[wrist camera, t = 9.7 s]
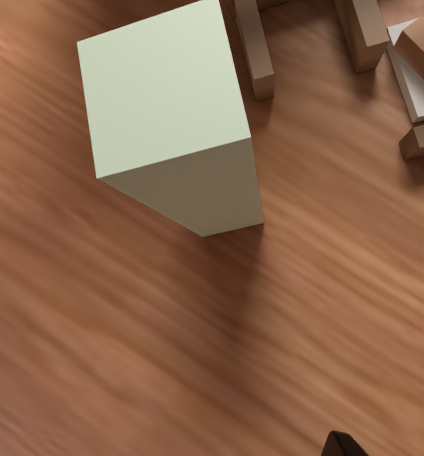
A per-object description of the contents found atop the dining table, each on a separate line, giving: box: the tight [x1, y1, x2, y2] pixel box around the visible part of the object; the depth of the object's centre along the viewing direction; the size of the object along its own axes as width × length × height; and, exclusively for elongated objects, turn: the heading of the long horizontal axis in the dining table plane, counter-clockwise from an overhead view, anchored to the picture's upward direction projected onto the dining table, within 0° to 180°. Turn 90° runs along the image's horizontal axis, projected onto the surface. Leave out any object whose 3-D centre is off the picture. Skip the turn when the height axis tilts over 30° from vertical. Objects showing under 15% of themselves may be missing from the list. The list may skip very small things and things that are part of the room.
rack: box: [229, 0, 424, 161], centre depth 19 cm, size 14×16×2 cm
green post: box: [77, 0, 264, 237], centre depth 15 cm, size 4×4×13 cm
